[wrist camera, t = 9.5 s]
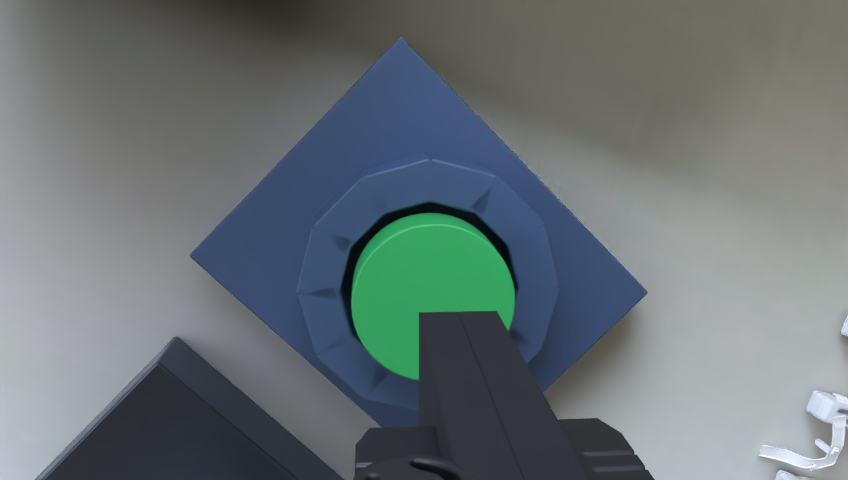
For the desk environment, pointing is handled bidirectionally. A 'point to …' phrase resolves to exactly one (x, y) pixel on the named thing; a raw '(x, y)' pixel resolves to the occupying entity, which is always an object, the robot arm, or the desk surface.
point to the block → (396, 198)
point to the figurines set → (830, 411)
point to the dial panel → (185, 431)
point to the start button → (424, 284)
